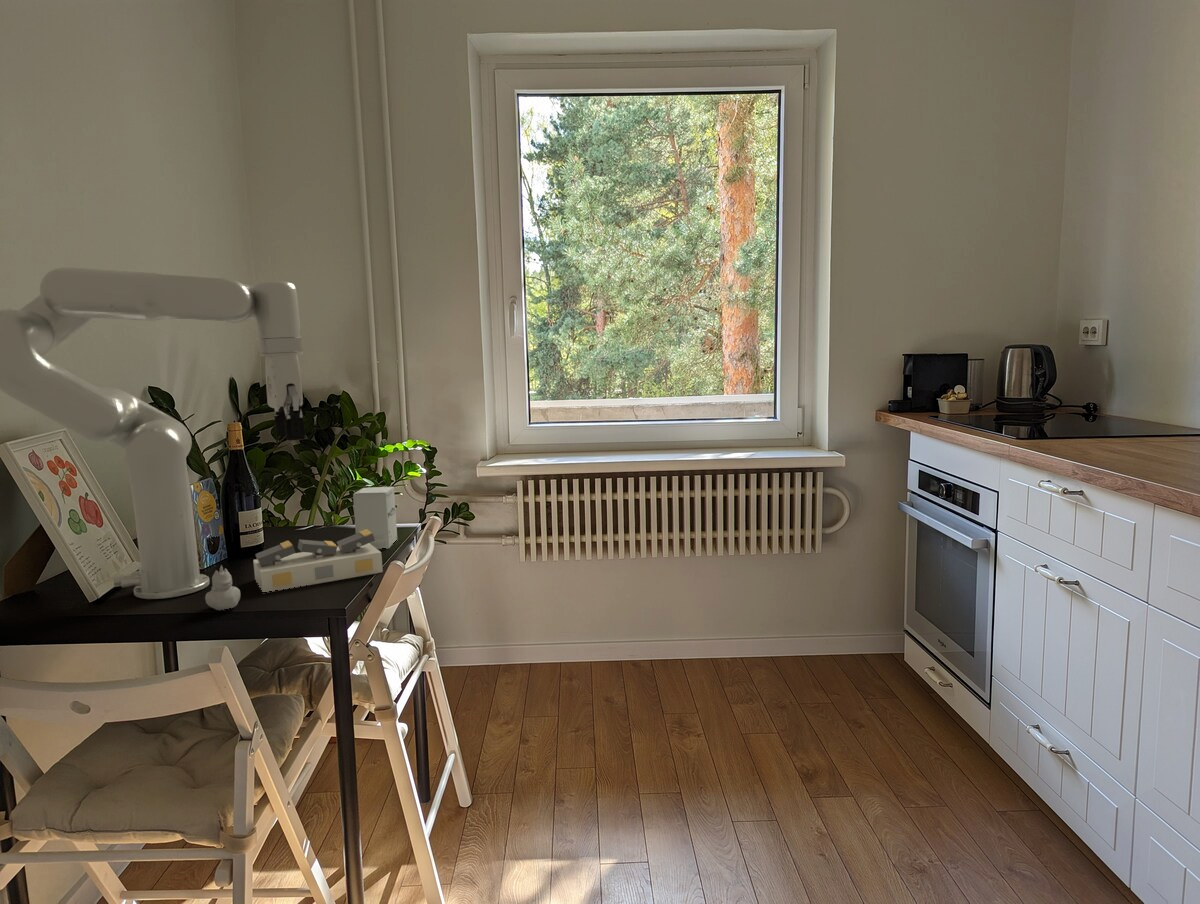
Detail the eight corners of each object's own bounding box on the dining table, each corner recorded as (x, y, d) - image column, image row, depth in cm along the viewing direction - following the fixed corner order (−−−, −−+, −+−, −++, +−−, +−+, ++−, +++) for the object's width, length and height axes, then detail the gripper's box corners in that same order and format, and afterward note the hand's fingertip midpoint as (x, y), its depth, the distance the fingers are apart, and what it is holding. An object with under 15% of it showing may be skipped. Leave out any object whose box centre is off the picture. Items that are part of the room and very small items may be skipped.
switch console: (263, 593, 148) (260, 569, 147) (255, 579, 156) (252, 556, 156) (383, 572, 158) (381, 549, 158) (369, 560, 167) (367, 539, 167)
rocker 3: (344, 553, 157) (341, 545, 157) (338, 548, 161) (335, 540, 161) (375, 540, 160) (372, 532, 160) (369, 536, 164) (366, 528, 164)
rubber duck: (214, 616, 136) (209, 570, 135) (201, 608, 141) (196, 563, 139) (247, 608, 139) (242, 563, 138) (233, 600, 144) (228, 556, 143)
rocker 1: (261, 566, 150) (258, 558, 149) (257, 561, 154) (254, 552, 153) (295, 553, 153) (292, 544, 152) (291, 548, 156) (288, 539, 156)
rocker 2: (301, 552, 153) (303, 543, 153) (297, 547, 157) (298, 538, 157) (336, 554, 156) (337, 545, 156) (330, 549, 160) (332, 541, 160)
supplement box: (389, 549, 176) (385, 492, 174) (355, 550, 176) (351, 493, 175) (398, 540, 184) (394, 486, 182) (366, 541, 184) (362, 486, 182)
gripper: (252, 349, 158) (261, 435, 161) (268, 348, 144) (278, 443, 146) (292, 347, 162) (300, 432, 165) (312, 346, 148) (321, 439, 150)
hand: (290, 437), depth 156 cm, fingers open, 9 cm apart
